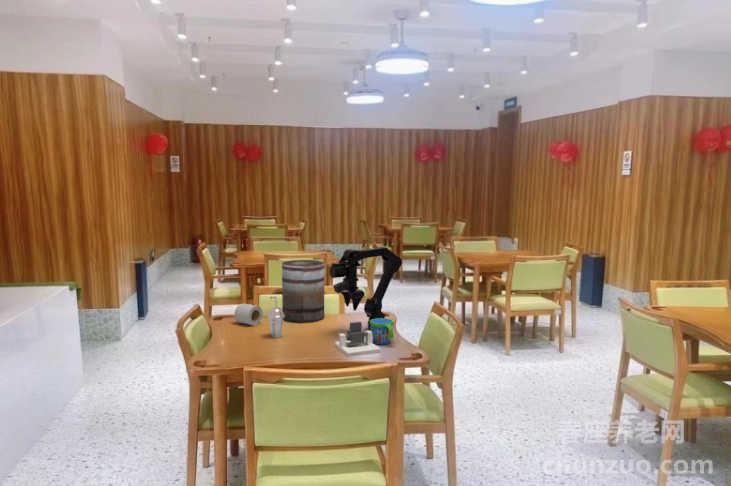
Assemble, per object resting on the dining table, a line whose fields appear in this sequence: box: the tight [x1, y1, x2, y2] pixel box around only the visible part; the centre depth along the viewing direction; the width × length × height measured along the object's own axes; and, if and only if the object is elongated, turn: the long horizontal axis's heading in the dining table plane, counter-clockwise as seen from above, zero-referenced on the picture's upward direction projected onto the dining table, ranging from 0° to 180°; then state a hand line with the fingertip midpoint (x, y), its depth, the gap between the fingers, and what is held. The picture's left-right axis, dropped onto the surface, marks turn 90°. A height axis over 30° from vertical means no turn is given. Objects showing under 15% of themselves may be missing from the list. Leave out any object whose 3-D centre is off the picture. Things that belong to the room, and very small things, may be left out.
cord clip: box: [346, 321, 365, 344], centre depth 217 cm, size 6×6×8 cm
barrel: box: [281, 259, 325, 324], centre depth 266 cm, size 22×22×30 cm
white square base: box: [334, 330, 382, 357], centre depth 216 cm, size 15×16×6 cm
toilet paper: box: [233, 303, 263, 327], centre depth 254 cm, size 10×10×10 cm
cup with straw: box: [266, 296, 285, 339], centre depth 232 cm, size 8×9×20 cm
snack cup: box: [370, 317, 394, 345], centre depth 225 cm, size 16×10×10 cm
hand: (350, 308), depth 236 cm, fingers open, 9 cm apart
